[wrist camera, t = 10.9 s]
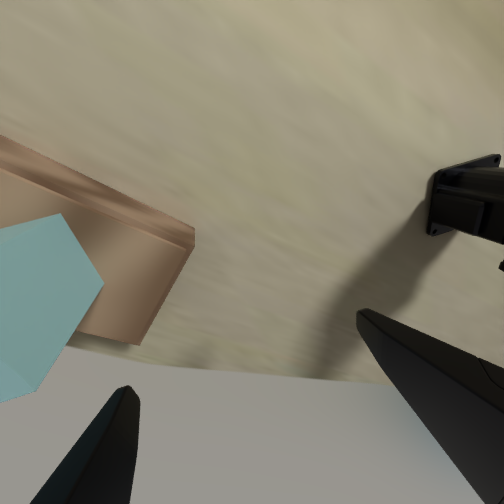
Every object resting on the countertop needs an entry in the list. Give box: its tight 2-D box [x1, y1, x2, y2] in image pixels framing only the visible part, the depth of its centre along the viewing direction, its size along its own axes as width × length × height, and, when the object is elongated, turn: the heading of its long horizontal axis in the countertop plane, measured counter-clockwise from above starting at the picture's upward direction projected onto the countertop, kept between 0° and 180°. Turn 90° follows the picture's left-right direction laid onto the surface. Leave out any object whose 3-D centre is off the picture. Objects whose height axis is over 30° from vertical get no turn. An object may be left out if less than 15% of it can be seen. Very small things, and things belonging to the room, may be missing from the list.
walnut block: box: [0, 135, 195, 346], centre depth 15 cm, size 14×9×4 cm, turn 58°
